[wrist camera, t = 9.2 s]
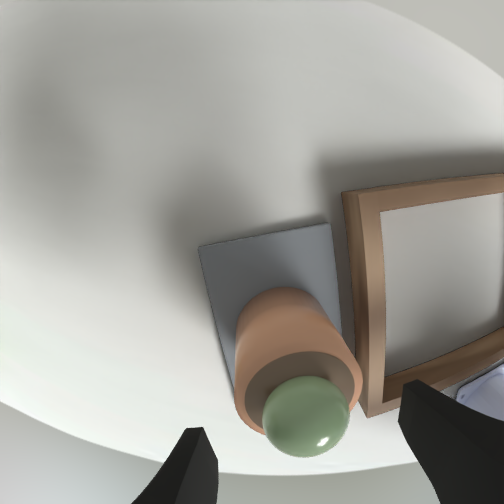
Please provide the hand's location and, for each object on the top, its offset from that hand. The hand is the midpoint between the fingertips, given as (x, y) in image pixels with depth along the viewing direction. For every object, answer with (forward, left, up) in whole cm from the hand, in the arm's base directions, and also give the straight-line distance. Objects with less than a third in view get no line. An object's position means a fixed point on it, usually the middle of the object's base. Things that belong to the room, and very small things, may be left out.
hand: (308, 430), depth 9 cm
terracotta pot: (0, 0, -8) cm, 8 cm away
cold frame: (0, -12, -8) cm, 15 cm away
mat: (0, 0, -8) cm, 8 cm away
